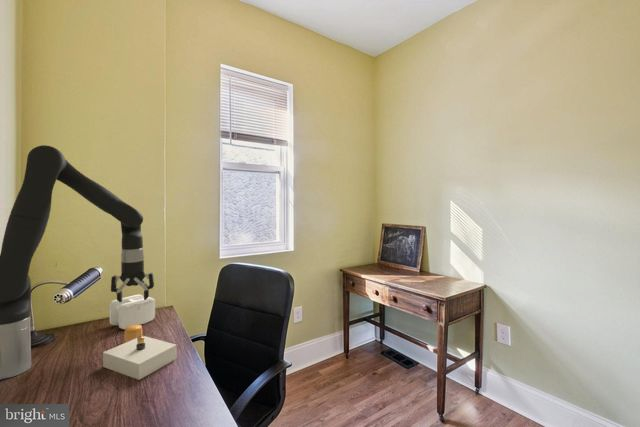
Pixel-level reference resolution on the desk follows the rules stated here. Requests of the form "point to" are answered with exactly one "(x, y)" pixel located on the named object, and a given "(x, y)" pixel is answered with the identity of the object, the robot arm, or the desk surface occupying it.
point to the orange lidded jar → (132, 332)
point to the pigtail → (140, 343)
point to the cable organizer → (131, 311)
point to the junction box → (139, 357)
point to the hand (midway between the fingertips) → (133, 300)
